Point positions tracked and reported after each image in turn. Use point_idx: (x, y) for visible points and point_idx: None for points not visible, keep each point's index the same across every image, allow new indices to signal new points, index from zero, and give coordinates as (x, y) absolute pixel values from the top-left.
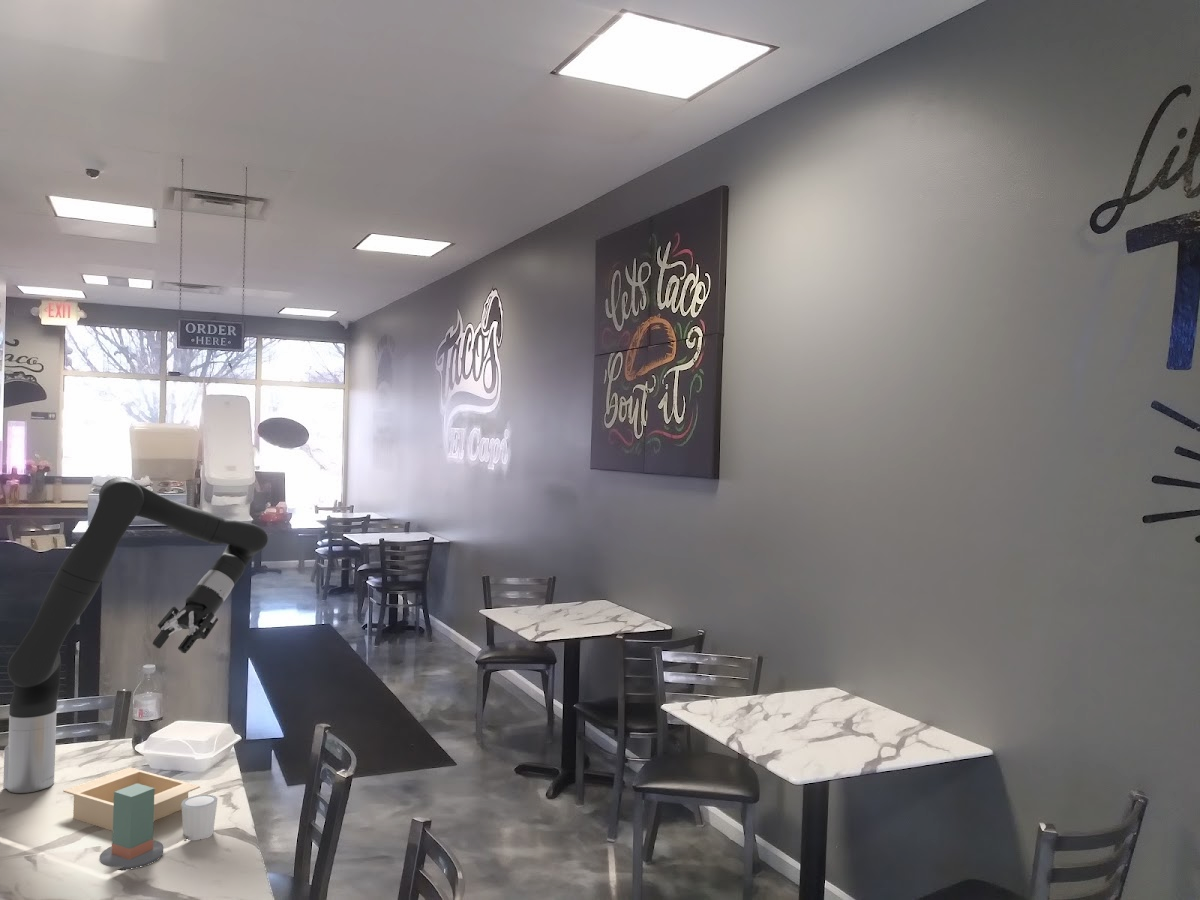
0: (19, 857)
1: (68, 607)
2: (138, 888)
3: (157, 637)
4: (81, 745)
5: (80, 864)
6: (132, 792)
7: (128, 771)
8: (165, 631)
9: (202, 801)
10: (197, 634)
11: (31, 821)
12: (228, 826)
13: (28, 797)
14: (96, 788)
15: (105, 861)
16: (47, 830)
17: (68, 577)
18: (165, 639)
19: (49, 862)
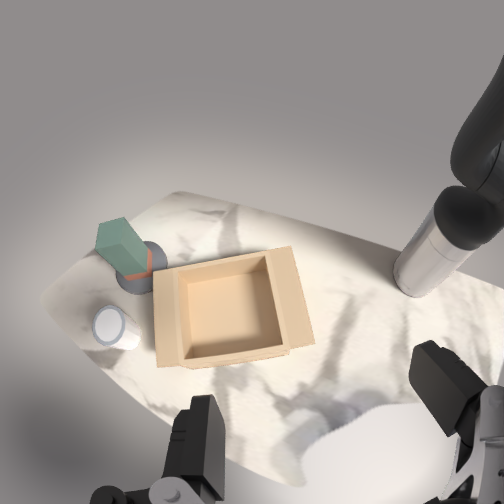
0: (226, 207)
1: None
2: None
3: (446, 361)
4: (498, 357)
5: (168, 234)
6: (106, 228)
7: (297, 333)
8: (469, 412)
9: (104, 326)
10: (127, 493)
11: (307, 240)
12: (118, 365)
13: (381, 261)
14: (269, 277)
15: (144, 243)
16: (269, 242)
17: None
18: (435, 412)
19: (194, 220)
